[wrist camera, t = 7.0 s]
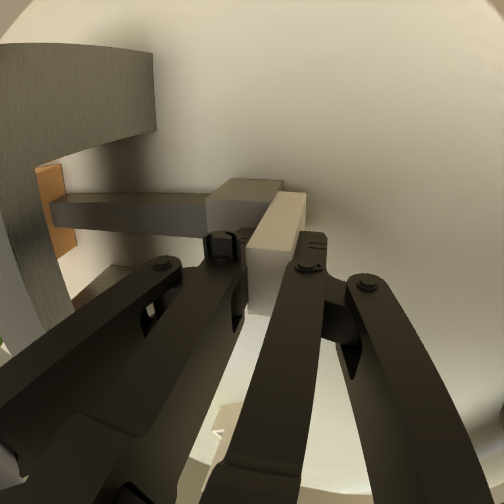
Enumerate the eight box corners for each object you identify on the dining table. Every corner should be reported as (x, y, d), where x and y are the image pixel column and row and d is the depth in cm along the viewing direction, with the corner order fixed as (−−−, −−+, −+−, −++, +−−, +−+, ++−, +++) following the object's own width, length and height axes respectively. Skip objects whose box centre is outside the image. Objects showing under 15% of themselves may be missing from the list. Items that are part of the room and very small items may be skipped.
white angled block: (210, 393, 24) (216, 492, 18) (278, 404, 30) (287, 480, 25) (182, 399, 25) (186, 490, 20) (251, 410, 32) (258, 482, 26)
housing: (152, 53, 15) (-16, 45, 5) (185, 327, 24) (113, 443, 14) (81, 74, 16) (-64, 95, 6) (125, 314, 25) (47, 408, 15)
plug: (282, 154, 16) (244, 194, 9) (281, 267, 19) (250, 359, 13) (27, 169, 21) (-44, 201, 14) (43, 240, 24) (-17, 283, 17)
